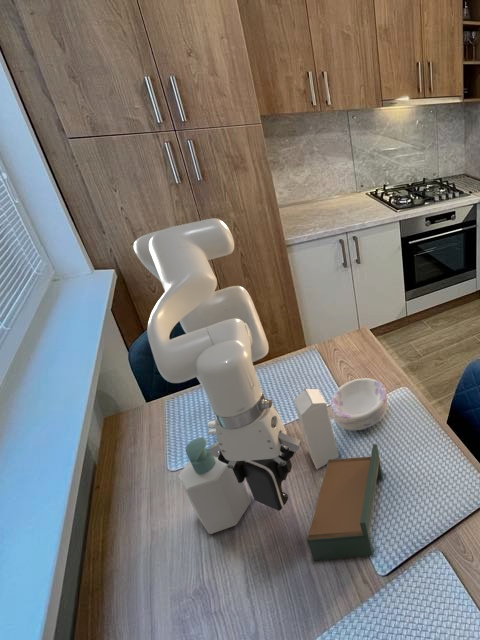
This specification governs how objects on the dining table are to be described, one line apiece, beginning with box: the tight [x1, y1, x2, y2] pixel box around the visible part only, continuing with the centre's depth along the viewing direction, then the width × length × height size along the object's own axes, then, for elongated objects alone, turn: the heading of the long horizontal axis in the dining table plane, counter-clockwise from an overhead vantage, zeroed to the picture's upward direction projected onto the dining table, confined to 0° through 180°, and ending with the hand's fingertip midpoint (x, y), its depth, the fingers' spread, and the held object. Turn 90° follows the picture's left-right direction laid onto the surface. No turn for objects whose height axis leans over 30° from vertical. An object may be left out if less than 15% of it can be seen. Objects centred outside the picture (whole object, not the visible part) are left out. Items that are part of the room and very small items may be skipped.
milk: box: [293, 384, 340, 470], centre depth 100 cm, size 6×6×22 cm
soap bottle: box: [177, 437, 251, 535], centre depth 88 cm, size 10×9×22 cm
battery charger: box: [242, 459, 289, 512], centre depth 78 cm, size 7×4×11 cm, turn 70°
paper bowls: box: [330, 377, 389, 432], centre depth 114 cm, size 15×15×8 cm
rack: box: [306, 443, 384, 561], centre depth 89 cm, size 12×18×11 cm, turn 4°
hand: (265, 474), depth 77 cm, fingers closed on battery charger, 7 cm apart
